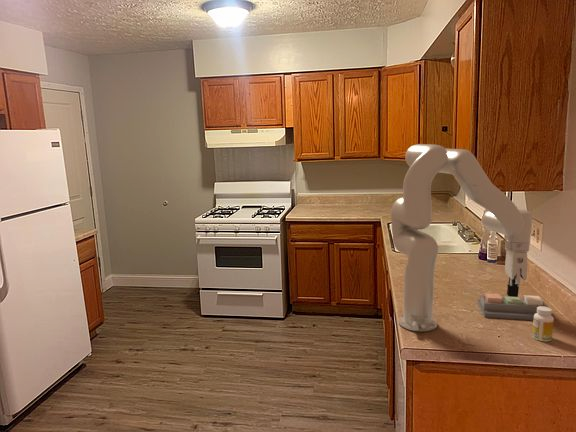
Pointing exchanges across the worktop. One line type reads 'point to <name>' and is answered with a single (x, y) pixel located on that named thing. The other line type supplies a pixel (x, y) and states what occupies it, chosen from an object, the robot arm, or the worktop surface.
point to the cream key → (533, 300)
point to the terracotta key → (493, 298)
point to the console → (508, 309)
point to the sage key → (512, 300)
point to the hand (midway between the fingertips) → (512, 295)
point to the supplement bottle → (543, 324)
